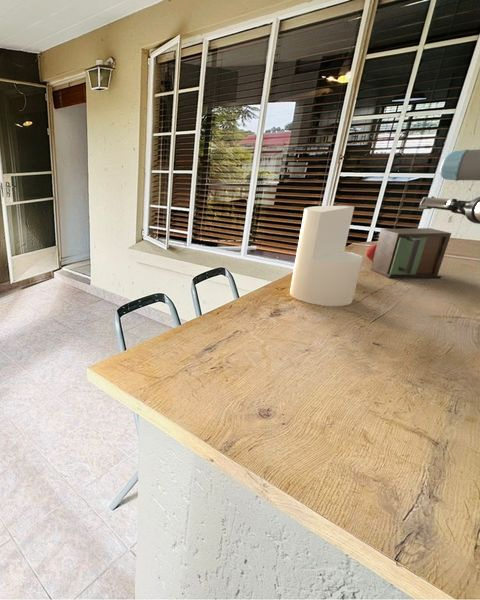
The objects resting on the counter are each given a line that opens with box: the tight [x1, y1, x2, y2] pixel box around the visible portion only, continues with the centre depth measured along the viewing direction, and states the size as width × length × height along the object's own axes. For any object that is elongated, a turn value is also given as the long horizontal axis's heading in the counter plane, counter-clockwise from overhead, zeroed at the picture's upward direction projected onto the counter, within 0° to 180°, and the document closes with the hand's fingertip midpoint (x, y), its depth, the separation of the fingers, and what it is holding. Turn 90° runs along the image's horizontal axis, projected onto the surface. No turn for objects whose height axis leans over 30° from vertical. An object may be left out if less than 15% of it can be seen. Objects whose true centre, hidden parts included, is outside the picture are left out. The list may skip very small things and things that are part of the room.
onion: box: [365, 243, 377, 262], centre depth 147 cm, size 6×6×8 cm
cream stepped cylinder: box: [289, 205, 364, 307], centre depth 109 cm, size 17×17×28 cm
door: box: [389, 237, 427, 275], centre depth 122 cm, size 6×8×14 cm
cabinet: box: [370, 227, 452, 280], centre depth 128 cm, size 12×16×16 cm
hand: (447, 210), depth 110 cm, fingers open, 13 cm apart
